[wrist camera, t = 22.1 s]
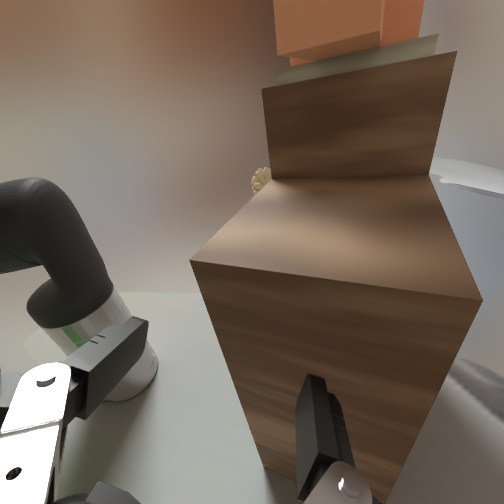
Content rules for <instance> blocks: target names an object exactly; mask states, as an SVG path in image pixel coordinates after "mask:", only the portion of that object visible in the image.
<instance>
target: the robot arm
mask: <svg viewBox="0 0 504 504" xmlns="http://www.w3.org/2000/svg"><path fill="white" fill-rule="evenodd" d="M40 265H43V266H44V267H45V269H46V271H47V272H48V274H49V275H50V277H51V279H49V280H48V281H47V282H45V283H44V284H42V285H41V286H40V287H39V288H38V289H37V290H36V291H35V292H34V293H33V294H32V295H31V297H30V298H29V300H28V302H27V311H28V313H29V315H30V316H31V317H32V318H33V320H34V321H36V323H37V324H38V325H40V327H41V328H42V329H43V330H44V331H45V332H46V333H47V334H48V335H49V337H50V338H51V339H52V340H53V341H54V342H55V343H56V344H57V345H58V346H59V347H60V348H61V349H62V350H63V352H64V353H65V354H66V355H67V356H68V357H67V358H65V359H64V360H63V361H61V362H60V363H51V364H45V365H42V366H39V367H37V368H34V369H33V370H31V371H29V372H28V373H26V374H24V373H22V374H21V373H1V372H0V504H141V503H139V502H138V501H137V500H136V499H135V498H134V497H133V496H132V495H131V494H129V493H128V492H126V491H123V490H121V489H118V488H116V487H113V486H110V485H108V484H105V483H103V482H100V481H98V482H97V483H96V485H95V486H94V488H93V489H92V491H91V493H83V494H76V495H72V496H68V497H65V498H62V499H60V500H57V498H58V488H59V480H60V473H61V467H62V461H63V454H64V448H65V442H66V435H67V429H68V424H69V423H70V422H71V421H72V420H73V419H74V418H75V417H78V418H81V419H83V420H86V419H87V418H88V417H89V416H90V414H91V413H92V412H93V411H94V410H95V409H96V408H97V407H98V405H99V404H100V403H101V402H103V401H106V400H111V401H124V400H127V399H130V398H132V397H134V396H135V395H137V394H139V393H140V392H141V391H142V390H143V389H145V388H146V387H147V385H148V384H149V383H150V382H151V380H152V379H153V378H154V376H155V373H156V371H157V368H158V359H157V357H156V355H155V353H154V351H153V349H152V347H151V346H150V345H149V343H148V341H147V339H146V338H147V331H148V321H147V320H144V319H140V318H137V317H134V316H132V315H131V313H130V311H129V310H128V308H127V306H126V305H125V303H124V301H123V300H122V298H121V296H120V295H119V293H118V291H117V290H116V288H115V287H114V285H113V283H112V282H111V280H110V278H109V276H108V273H107V270H106V267H105V264H104V262H103V259H102V258H101V256H100V254H99V252H98V250H97V248H96V246H95V244H94V243H93V240H92V239H91V237H90V235H89V233H88V231H87V229H86V227H85V224H84V222H83V220H82V219H81V217H80V215H79V213H78V211H77V209H76V208H75V206H74V205H73V203H72V201H71V200H70V199H69V198H68V196H67V195H66V194H65V193H64V192H63V191H62V190H61V189H60V188H59V187H58V186H57V185H55V184H54V183H52V182H51V181H48V180H46V179H43V178H26V179H19V180H13V181H9V182H3V183H0V274H3V273H8V272H14V271H18V270H23V269H27V268H31V267H35V266H40ZM343 418H344V416H343V412H342V407H341V405H340V403H339V401H338V400H337V398H336V396H335V395H334V394H333V393H330V392H327V387H326V382H325V379H324V378H322V377H319V376H316V375H313V374H310V373H308V374H307V375H306V378H305V380H304V383H303V386H302V388H301V391H300V393H299V396H298V399H297V402H296V409H295V427H296V469H297V499H300V500H303V501H305V502H304V503H303V504H384V503H382V502H381V501H379V500H378V499H377V498H376V497H375V496H373V495H372V494H371V491H370V488H369V486H368V484H367V482H366V480H365V479H364V477H363V476H362V475H361V473H360V472H359V471H358V470H357V469H356V467H355V462H354V458H353V454H352V450H351V446H350V441H349V437H348V433H347V429H346V424H345V420H344V419H343Z"/></svg>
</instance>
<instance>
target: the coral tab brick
mask: <svg viewBox="0 0 504 504" xmlns="http://www.w3.org/2000/svg"><path fill="white" fill-rule="evenodd" d="M273 2H274V14H275V27H276V39H277V53H278V55H279V56H285V57H290V66H295V65H300V64H304V63H309V62H313V61H318V60H322V59H327V58H331V57H336V56H340V55H345V54H349V53H354V52H358V51H363V50H367V49H372V48H376V47H381V46H385V45H390V44H394V43H399V42H403V41H408V40H412V39H417V38H418V35H419V29H420V23H421V17H422V11H423V4H424V0H273Z"/></svg>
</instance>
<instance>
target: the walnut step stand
mask: <svg viewBox="0 0 504 504" xmlns="http://www.w3.org/2000/svg"><path fill="white" fill-rule="evenodd" d="M437 39H438V34H434V35H430V36H426V37H421V38H417V39H412V40H408V41H403V42H399V43H394V44H390V45H385V46H381V47H376V48H372V49H367V50H363V51H358V52H354V53H349V54H345V55H340V56H336V57H331V58H327V59H322V60H318V61H313V62H309V63H304V64H300V65H295V66H291V67H286V68H282V69H277V70H275V80H276V86H274V87H268V88H264V89H262V97H263V106H264V115H265V124H266V133H267V141H268V151H269V159H270V168H271V177H272V179H271V180H270V181H269V182H268V183H267V184H266V185H265V186H264V187H263V188H262V189H261V190H260V191H259V192H258V193H257V194H256V195H255V196H254V197H253V198H252V199H251V200H250V201H249V202H248V203H247V204H246V205H245V206H244V207H243V208H242V209H241V210H240V211H239V212H238V213H237V214H236V215H235V216H234V217H233V218H231V219H230V220H229V221H228V222H227V223H226V224H225V225H224V226H223V227H222V228H221V229H220V230H219V231H218V232H217V233H216V234H215V235H214V236H213V237H212V238H211V239H210V240H209V241H208V242H207V243H206V244H205V245H204V246H203V247H202V248H201V249H200V250H199V251H198V252H197V253H196V254H195V255H194V256H193V257H192V258H191V259H190V263H191V266H192V269H193V272H194V274H195V277H196V280H197V282H198V286H199V288H200V291H201V294H202V297H203V300H204V302H205V305H206V308H207V311H208V313H209V316H210V319H211V322H212V325H213V327H214V330H215V333H216V336H217V338H218V341H219V344H220V347H221V350H222V352H223V355H224V358H225V361H226V364H227V366H228V369H229V372H230V375H231V377H232V380H233V383H234V386H235V389H236V391H237V394H238V397H239V400H240V403H241V405H242V408H243V411H244V414H245V416H246V419H247V422H248V425H249V428H250V430H251V433H252V436H253V439H254V441H255V444H256V447H257V450H258V453H259V455H260V458H261V461H262V464H263V466H265V467H267V468H269V469H271V470H273V471H275V472H277V473H279V474H281V475H283V476H285V477H287V478H289V479H291V480H293V481H295V482H297V469H296V427H295V409H296V402H297V399H298V396H299V393H300V391H301V388H302V386H303V383H304V380H305V378H306V375H307V374H308V373H310V374H313V375H316V376H319V377H322V378H324V379H325V382H326V387H327V392H330V393H333V394H334V395H335V396H336V398H337V400H338V401H339V403H340V405H341V407H342V412H343V416H344V418H343V419H344V420H345V424H346V429H347V433H348V437H349V441H350V446H351V450H352V454H353V458H354V462H355V467H356V469H357V470H358V471H359V472H360V473H361V475H362V476H363V477H364V479H365V480H366V482H367V484H368V486H369V488H370V491H371V494H372V495H373V496H375V497H376V498H377V499H378V500H379V501H381V502H382V503H384V504H385V502H386V500H387V498H388V496H389V494H390V491H391V489H392V487H393V485H394V483H395V481H396V479H397V477H398V475H399V473H400V471H401V469H402V467H403V465H404V463H405V460H406V458H407V456H408V454H409V452H410V450H411V448H412V446H413V444H414V442H415V440H416V438H417V436H418V434H419V432H420V429H421V427H422V425H423V423H424V421H425V419H426V417H427V415H428V413H429V411H430V409H431V407H432V405H433V403H434V401H435V398H436V396H437V394H438V392H439V390H440V388H441V386H442V384H443V382H444V380H445V378H446V376H447V374H448V372H449V370H450V368H451V365H452V363H453V361H454V359H455V357H456V355H457V353H458V351H459V349H460V347H461V345H462V342H463V341H464V339H465V337H466V334H467V332H468V330H469V328H470V326H471V324H472V322H473V320H474V318H475V316H476V314H477V312H478V310H479V308H480V305H481V303H482V301H483V299H482V297H481V295H480V292H479V290H478V288H477V286H476V283H475V281H474V279H473V276H472V274H471V272H470V269H469V267H468V265H467V263H466V260H465V258H464V255H463V253H462V251H461V249H460V246H459V244H458V242H457V239H456V237H455V235H454V232H453V230H452V228H451V225H450V223H449V221H448V219H447V216H446V214H445V212H444V209H443V207H442V205H441V202H440V200H439V198H438V195H437V194H436V191H435V189H434V186H433V184H432V182H431V179H430V177H429V171H430V166H431V162H432V158H433V153H434V149H435V144H436V140H437V136H438V132H439V127H440V123H441V118H442V114H443V109H444V106H445V101H446V97H447V93H448V89H449V84H450V80H451V75H452V71H453V67H454V62H455V58H456V54H457V51H455V52H450V53H444V54H439V55H435V50H436V44H437Z"/></svg>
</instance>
